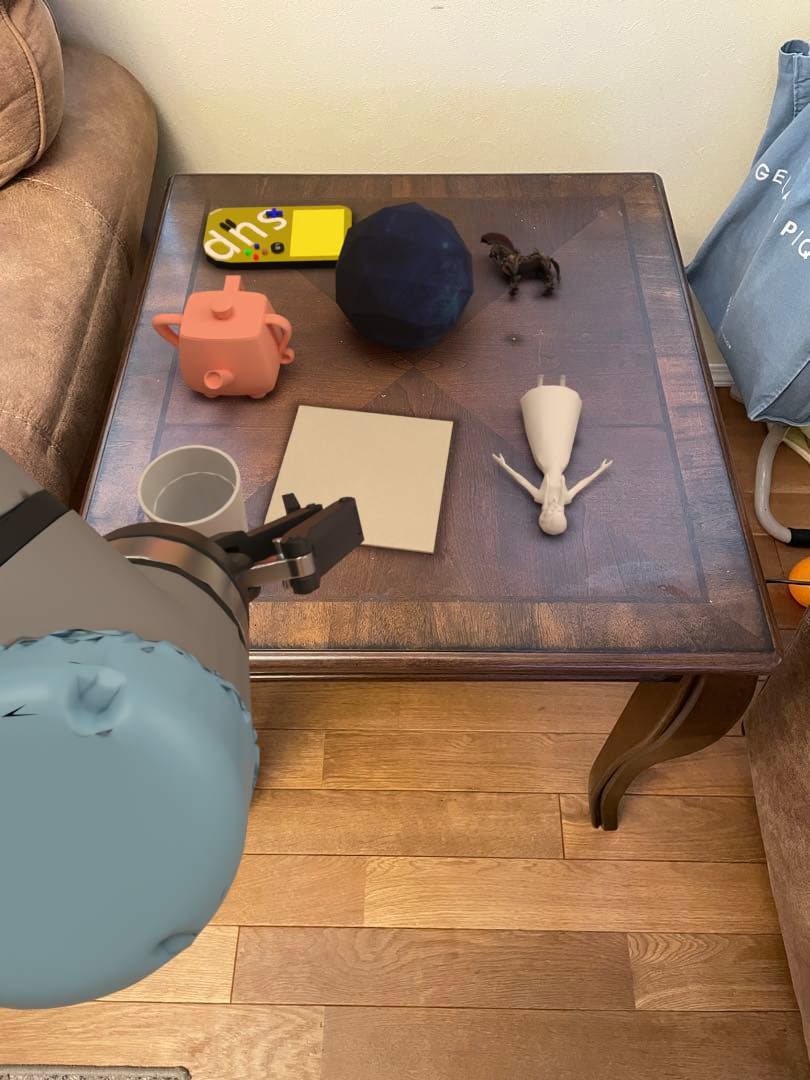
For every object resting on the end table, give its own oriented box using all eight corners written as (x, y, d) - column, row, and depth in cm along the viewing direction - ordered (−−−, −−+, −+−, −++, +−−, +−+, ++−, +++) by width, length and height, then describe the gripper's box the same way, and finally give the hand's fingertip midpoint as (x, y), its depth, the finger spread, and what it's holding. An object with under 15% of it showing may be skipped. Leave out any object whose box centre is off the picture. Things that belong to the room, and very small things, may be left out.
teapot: (224, 436, 81) (204, 366, 73) (163, 371, 86) (138, 299, 78) (316, 382, 85) (306, 310, 77) (253, 323, 90) (237, 250, 82)
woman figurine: (612, 369, 79) (624, 524, 70) (603, 398, 83) (613, 549, 74) (495, 363, 80) (492, 516, 71) (491, 392, 84) (488, 541, 75)
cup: (276, 539, 74) (255, 456, 64) (243, 613, 69) (215, 535, 60) (196, 520, 75) (163, 436, 65) (159, 591, 71) (118, 512, 61)
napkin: (262, 533, 74) (261, 531, 74) (299, 407, 83) (299, 405, 83) (433, 553, 73) (433, 552, 73) (452, 423, 82) (453, 421, 81)
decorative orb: (473, 233, 90) (394, 143, 79) (518, 320, 82) (436, 234, 71) (378, 312, 96) (292, 238, 85) (411, 400, 88) (320, 331, 77)
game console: (351, 211, 102) (351, 200, 100) (353, 267, 96) (352, 256, 94) (209, 216, 101) (207, 206, 100) (202, 273, 95) (199, 262, 94)
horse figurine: (570, 349, 91) (545, 246, 97) (582, 327, 88) (555, 222, 93) (495, 351, 90) (474, 246, 95) (505, 328, 86) (482, 221, 92)
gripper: (-177, 823, 29) (-1, 647, 49) (482, 641, 32) (389, 548, 53) (-256, 627, 27) (-41, 530, 48) (446, 460, 31) (365, 437, 51)
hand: (186, 539), depth 50 cm, fingers open, 13 cm apart
